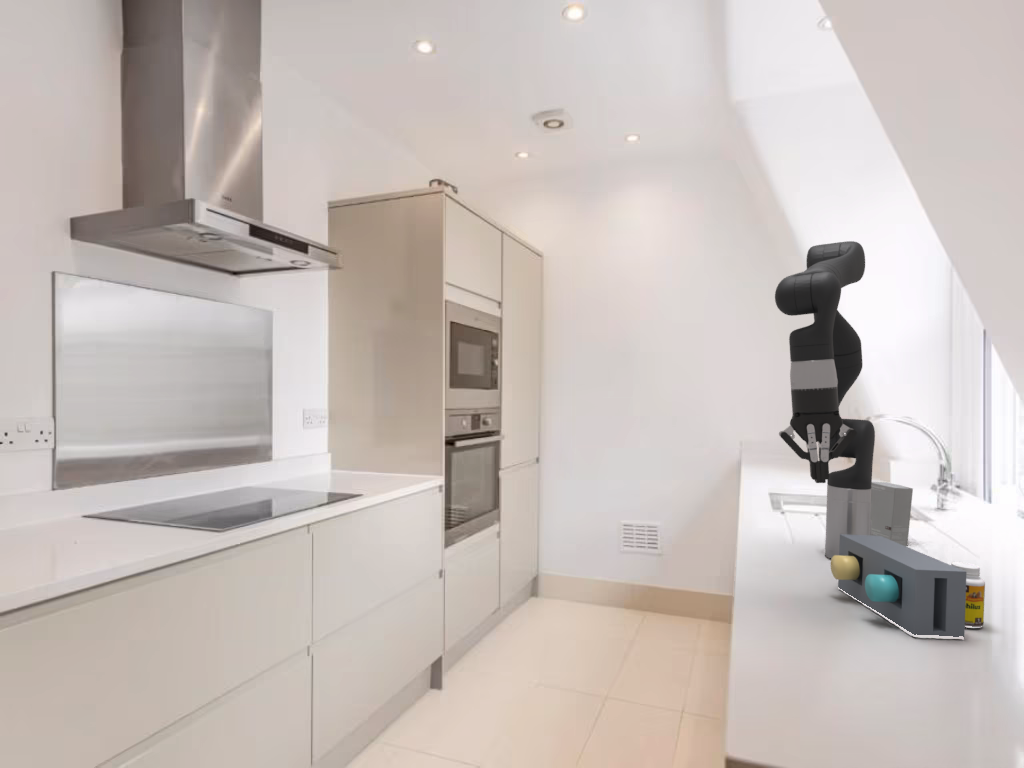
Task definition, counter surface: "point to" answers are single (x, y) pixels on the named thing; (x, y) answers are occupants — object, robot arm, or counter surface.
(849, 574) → the mustard button
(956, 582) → the console
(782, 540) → the counter surface
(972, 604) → the supplement bottle
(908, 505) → the skincare box
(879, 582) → the teal button
